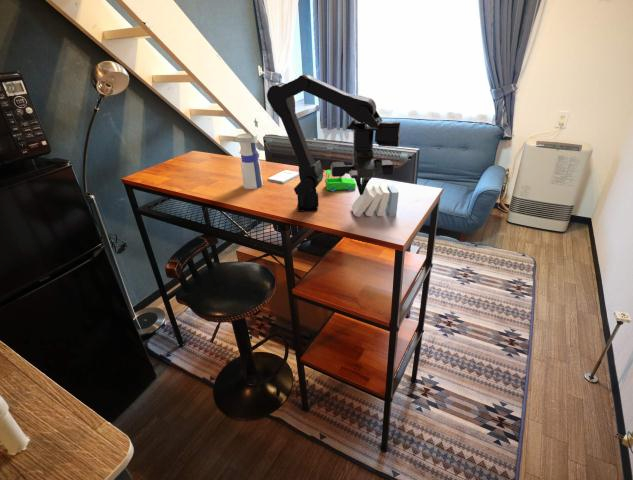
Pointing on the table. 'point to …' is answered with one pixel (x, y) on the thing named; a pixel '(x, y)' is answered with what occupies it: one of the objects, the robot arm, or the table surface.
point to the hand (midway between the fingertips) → (360, 194)
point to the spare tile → (392, 200)
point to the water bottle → (250, 160)
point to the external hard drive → (284, 176)
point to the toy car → (339, 183)
